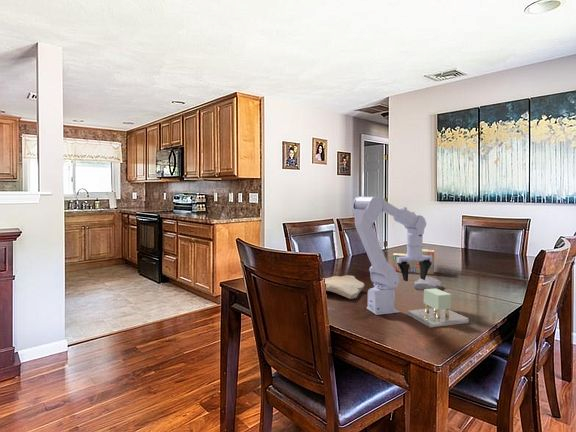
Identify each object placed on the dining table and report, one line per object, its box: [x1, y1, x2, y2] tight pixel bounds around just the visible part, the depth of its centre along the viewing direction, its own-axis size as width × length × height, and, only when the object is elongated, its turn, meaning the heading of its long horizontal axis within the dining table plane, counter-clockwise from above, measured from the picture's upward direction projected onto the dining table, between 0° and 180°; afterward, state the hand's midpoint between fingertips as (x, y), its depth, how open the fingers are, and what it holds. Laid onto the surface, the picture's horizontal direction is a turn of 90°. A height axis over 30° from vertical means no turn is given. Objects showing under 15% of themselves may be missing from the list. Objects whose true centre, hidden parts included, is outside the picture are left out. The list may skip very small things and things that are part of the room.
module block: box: [423, 288, 452, 310], centre depth 130 cm, size 5×8×5 cm, turn 15°
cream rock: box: [324, 274, 365, 300], centre depth 165 cm, size 24×8×20 cm
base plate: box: [406, 304, 470, 328], centre depth 130 cm, size 15×13×4 cm
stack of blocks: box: [392, 248, 435, 275], centre depth 204 cm, size 21×6×12 cm, turn 69°
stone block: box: [413, 276, 442, 291], centre depth 171 cm, size 12×5×10 cm
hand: (414, 279), depth 146 cm, fingers open, 7 cm apart
